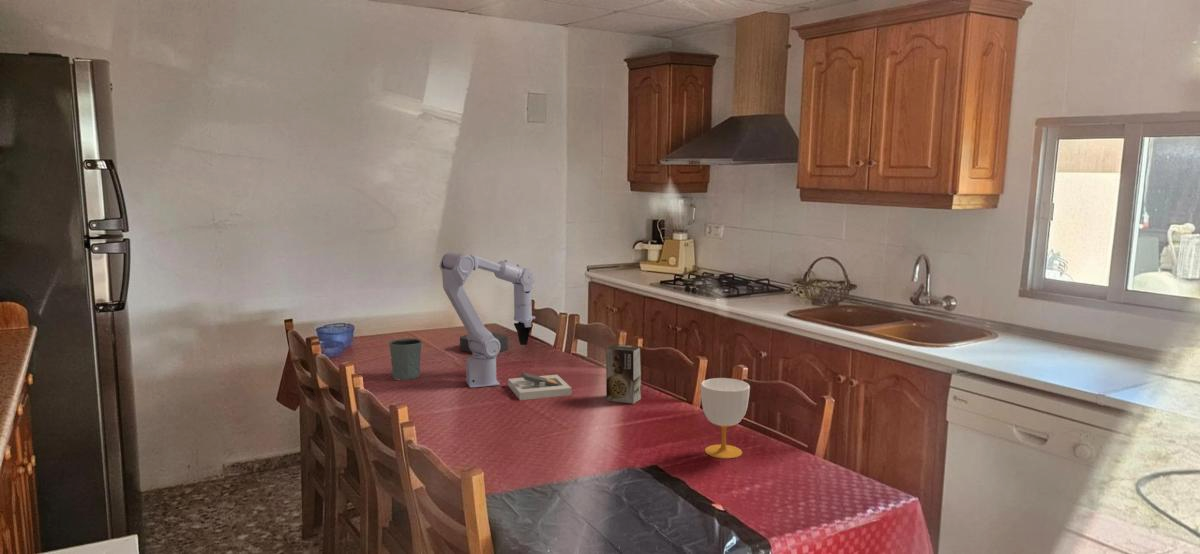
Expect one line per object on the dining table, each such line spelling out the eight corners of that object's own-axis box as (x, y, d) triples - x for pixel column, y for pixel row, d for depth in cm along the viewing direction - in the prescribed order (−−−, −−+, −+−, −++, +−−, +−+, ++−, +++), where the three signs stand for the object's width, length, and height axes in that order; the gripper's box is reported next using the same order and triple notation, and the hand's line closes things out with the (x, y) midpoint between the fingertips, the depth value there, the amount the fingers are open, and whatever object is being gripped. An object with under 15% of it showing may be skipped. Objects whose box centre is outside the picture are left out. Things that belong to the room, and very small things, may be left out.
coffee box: (641, 398, 235) (642, 346, 232) (633, 404, 229) (634, 350, 227) (614, 394, 238) (614, 343, 236) (605, 400, 233) (605, 347, 230)
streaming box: (456, 350, 296) (456, 337, 295) (486, 343, 306) (486, 331, 306) (481, 356, 286) (481, 342, 285) (511, 349, 297) (511, 336, 296)
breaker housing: (520, 400, 233) (519, 388, 232) (508, 385, 248) (508, 375, 247) (571, 395, 238) (571, 384, 237) (557, 381, 253) (557, 370, 252)
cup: (736, 464, 183) (738, 394, 181) (691, 454, 189) (692, 386, 187) (755, 449, 193) (757, 382, 191) (711, 440, 199) (712, 375, 197)
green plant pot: (384, 379, 255) (383, 343, 253) (403, 371, 264) (402, 336, 263) (410, 382, 251) (409, 346, 250) (428, 374, 261) (427, 339, 259)
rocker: (524, 379, 238) (526, 375, 238) (521, 375, 243) (522, 371, 243) (557, 388, 242) (559, 384, 242) (553, 384, 247) (554, 380, 247)
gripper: (540, 307, 251) (540, 348, 253) (529, 299, 265) (530, 338, 267) (518, 308, 249) (519, 350, 251) (508, 300, 263) (509, 340, 265)
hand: (523, 344), depth 259 cm, fingers closed
